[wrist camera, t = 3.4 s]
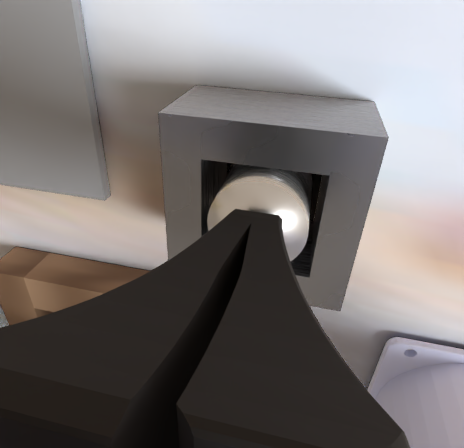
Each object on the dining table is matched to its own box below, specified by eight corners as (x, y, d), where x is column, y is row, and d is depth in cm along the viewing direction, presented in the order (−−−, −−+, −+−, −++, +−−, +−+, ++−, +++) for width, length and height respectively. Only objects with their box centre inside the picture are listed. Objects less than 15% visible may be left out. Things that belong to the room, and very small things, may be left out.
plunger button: (319, 149, 12) (316, 190, 10) (305, 225, 14) (300, 276, 11) (231, 139, 13) (207, 175, 10) (228, 213, 14) (207, 260, 12)
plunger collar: (374, 101, 12) (388, 137, 9) (338, 250, 15) (340, 311, 12) (196, 84, 13) (158, 112, 10) (198, 227, 16) (169, 279, 13)
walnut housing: (198, 279, 18) (185, 309, 16) (200, 400, 23) (190, 432, 22) (15, 246, 19) (-14, 270, 18) (57, 366, 25) (37, 393, 23)
